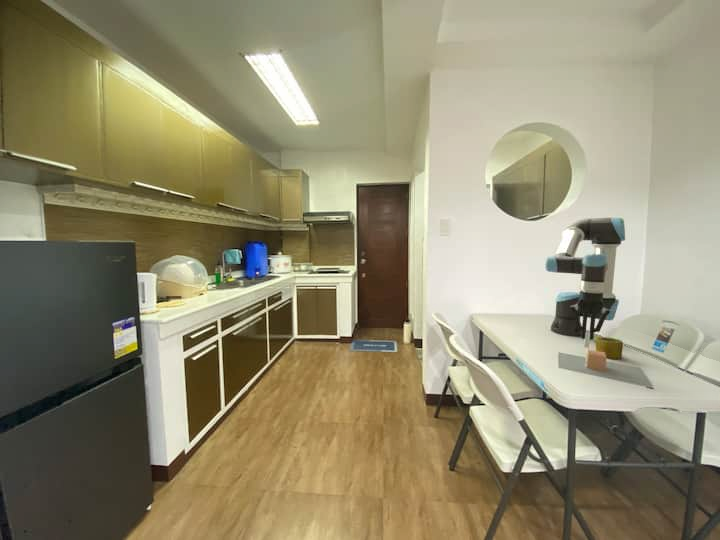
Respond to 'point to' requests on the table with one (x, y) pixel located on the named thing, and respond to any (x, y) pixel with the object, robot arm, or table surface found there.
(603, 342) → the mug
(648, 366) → the table surface
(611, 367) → the mat
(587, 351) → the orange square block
